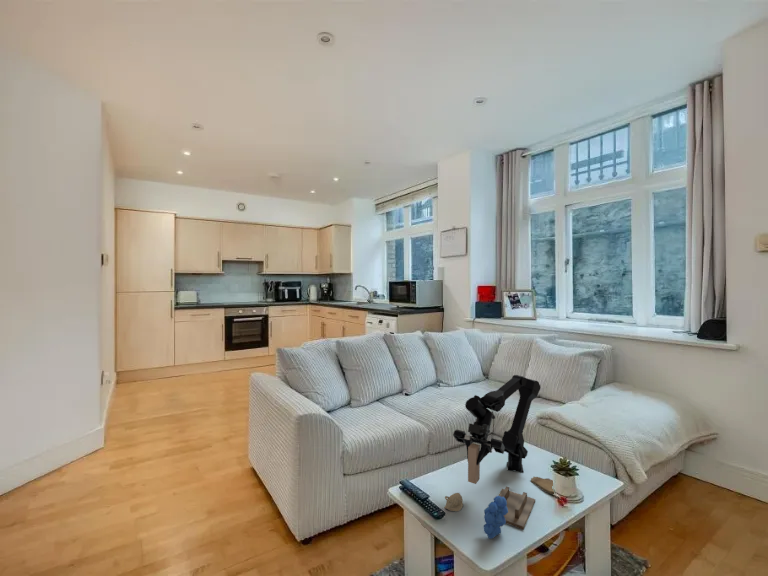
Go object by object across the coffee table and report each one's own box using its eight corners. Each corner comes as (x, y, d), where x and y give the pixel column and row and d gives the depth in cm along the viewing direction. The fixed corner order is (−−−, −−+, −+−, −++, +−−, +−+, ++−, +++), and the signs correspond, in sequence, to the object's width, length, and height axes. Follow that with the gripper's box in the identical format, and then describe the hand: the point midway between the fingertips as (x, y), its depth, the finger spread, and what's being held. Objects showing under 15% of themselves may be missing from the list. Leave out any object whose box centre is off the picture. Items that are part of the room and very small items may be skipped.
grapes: (494, 520, 124) (494, 485, 123) (512, 530, 119) (513, 494, 118) (473, 535, 116) (473, 498, 116) (492, 547, 111) (492, 508, 111)
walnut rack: (502, 491, 141) (502, 480, 141) (535, 501, 134) (535, 491, 134) (487, 516, 126) (487, 504, 126) (523, 529, 119) (523, 517, 119)
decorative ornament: (466, 508, 130) (466, 493, 130) (447, 515, 126) (447, 499, 126) (458, 502, 134) (459, 487, 134) (440, 508, 130) (440, 493, 130)
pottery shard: (526, 487, 146) (563, 502, 134) (525, 480, 146) (563, 495, 135) (537, 480, 151) (574, 494, 140) (536, 474, 152) (573, 487, 140)
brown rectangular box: (468, 481, 136) (468, 447, 136) (471, 476, 139) (472, 443, 139) (475, 484, 134) (476, 449, 134) (479, 479, 138) (479, 445, 137)
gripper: (455, 409, 145) (442, 447, 136) (502, 419, 134) (492, 461, 125) (462, 422, 151) (451, 459, 143) (508, 432, 141) (499, 474, 132)
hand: (472, 463), depth 136 cm, fingers closed on brown rectangular box, 3 cm apart
